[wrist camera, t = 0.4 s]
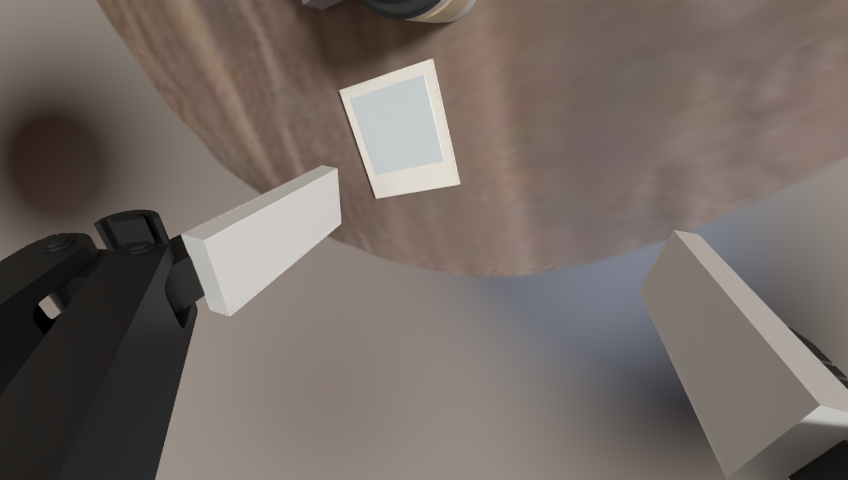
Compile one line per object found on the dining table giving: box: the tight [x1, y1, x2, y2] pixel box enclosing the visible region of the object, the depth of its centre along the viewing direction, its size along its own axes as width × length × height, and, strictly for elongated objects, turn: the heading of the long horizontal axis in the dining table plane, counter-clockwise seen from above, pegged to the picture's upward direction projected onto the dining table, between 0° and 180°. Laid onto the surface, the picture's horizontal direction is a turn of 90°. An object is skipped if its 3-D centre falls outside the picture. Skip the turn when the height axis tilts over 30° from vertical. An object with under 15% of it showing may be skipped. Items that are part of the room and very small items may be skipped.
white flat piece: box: [339, 59, 460, 199], centre depth 38 cm, size 14×12×1 cm
